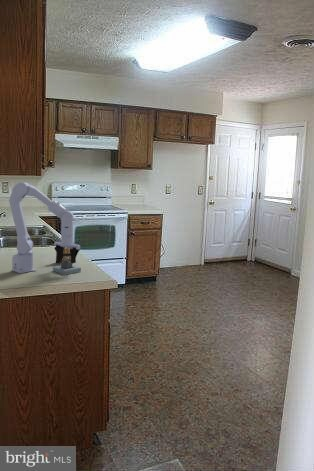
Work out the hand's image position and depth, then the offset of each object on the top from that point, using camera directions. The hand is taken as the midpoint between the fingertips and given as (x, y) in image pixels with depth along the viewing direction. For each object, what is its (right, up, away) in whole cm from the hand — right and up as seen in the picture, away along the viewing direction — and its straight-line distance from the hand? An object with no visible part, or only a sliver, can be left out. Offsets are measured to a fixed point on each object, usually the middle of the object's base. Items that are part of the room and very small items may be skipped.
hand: (66, 261), depth 208 cm
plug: (0, -5, +1) cm, 5 cm away
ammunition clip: (-5, -2, +19) cm, 20 cm away
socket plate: (0, -5, +1) cm, 5 cm away
